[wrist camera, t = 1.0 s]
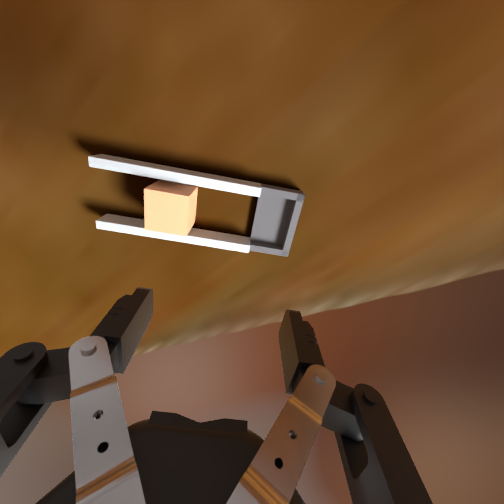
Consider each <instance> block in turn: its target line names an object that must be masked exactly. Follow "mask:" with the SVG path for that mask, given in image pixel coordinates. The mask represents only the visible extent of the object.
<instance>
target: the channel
mask: <svg viewBox="0 0 504 504" xmlns="http://www.w3.org/2000/svg"><path fill="white" fill-rule="evenodd" d="M88 160H89V166H90V167H95V168H101V169H106V170H112V171H117V172H123V173H128V174H134V175H139V176H145V177H150V178H156V179H161V180H167V181H172V182H178V183H183V184H189V185H195V186H200V187H206V188H211V189H217V190H222V191H228V192H233V193H239V194H244V195H250V196H255V197H260V194H261V189H262V188H261V183H256V182H251V181H245V180H240V179H234V178H229V177H224V176H218V175H213V174H208V173H202V172H197V171H191V170H186V169H181V168H175V167H170V166H165V165H159V164H154V163H148V162H143V161H138V160H132V159H127V158H122V157H116V156H111V155H105V154H98V155H92V156H88ZM96 228H97V229H103V230H109V231H116V232H122V233H128V234H134V235H140V236H147V237H153V238H159V239H165V240H171V241H177V242H184V243H190V244H196V245H202V246H208V247H215V248H221V249H227V250H233V251H239V252H246V253H249V249H250V237H245V236H239V235H233V234H227V233H221V232H215V231H209V230H203V229H197V228H191V230H190V231H189V233H188V235H187V236H180V235H174V234H168V233H162V232H156V231H150V230H145V220H143V219H137V218H131V217H125V216H119V215H113V214H105V215H104V216H102V217H101V218H99V219H97V220H96Z"/></svg>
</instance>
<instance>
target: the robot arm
mask: <svg viewBox="0 0 504 504" xmlns="http://www.w3.org/2000/svg"><path fill="white" fill-rule="evenodd" d="M152 314H153V289H149V288H143V287H138V288H137V289H136V290H135V292H134V293H133V295H125V296H123V297H122V298H120V299H118V300H117V301H116V303H115V304H114V305H113V307H112V309H110V310H109V312H108V314H106V316H105V317H104V318H103V320H102V321H101V322H100V323H99V325H98V326H97V327H96V329H95V330H94V331H93V333H92V334H91V335H90V336H89V337H85V338H82V339H80V340H78V341H77V342H75V343H74V344H73V345H72V346H71V347H69V348H62V349H54V350H46V347H45V346H44V345H43V344H42V343H38V342H29V343H24V344H21V345H18V346H16V347H14V348H12V349H10V350H9V351H8V352H6V353H5V354H4V355H3V356H2V357H1V358H0V477H1V475H2V474H3V472H4V471H5V469H6V468H7V467H8V465H9V464H10V462H11V461H12V459H13V458H14V457H15V455H16V454H17V452H18V451H19V450H20V448H21V447H22V445H23V444H24V442H25V441H26V440H27V438H28V437H29V435H30V434H31V432H32V431H33V430H34V428H35V427H36V425H37V424H38V422H39V421H40V419H41V418H42V417H43V415H44V414H45V412H46V411H47V409H48V408H49V406H50V405H51V403H52V402H54V401H60V400H65V399H70V406H71V420H72V436H73V451H74V466H75V471H73V472H72V473H71V474H70V475H69V476H68V477H66V478H65V479H64V480H63V481H62V482H61V483H59V484H58V485H57V486H56V487H55V488H54V489H52V490H51V491H50V492H49V493H48V494H46V495H45V496H44V497H43V498H42V499H40V500H39V501H38V502H37V503H36V504H305V502H304V501H303V499H302V497H301V496H300V494H299V493H298V491H297V490H296V486H297V483H298V481H299V478H300V476H301V473H302V471H303V468H304V466H305V463H306V461H307V458H308V456H309V454H310V451H311V448H312V446H313V444H314V441H315V439H316V436H317V434H318V431H319V429H320V426H323V427H325V428H327V429H329V430H332V431H334V433H335V437H336V440H337V444H338V448H339V452H340V456H341V460H342V464H343V468H344V471H345V475H346V479H347V483H348V487H349V491H350V495H351V499H352V502H353V504H433V503H432V501H431V499H430V497H429V495H428V493H427V491H426V488H425V486H424V484H423V482H422V480H421V478H420V476H419V474H418V472H417V470H416V467H415V465H414V463H413V461H412V459H411V456H410V454H409V452H408V450H407V448H406V446H405V444H404V442H403V439H402V437H401V435H400V433H399V431H398V429H397V427H396V425H395V423H394V420H393V418H392V416H391V414H390V412H389V410H388V408H387V405H386V403H385V401H384V399H383V397H382V396H381V395H380V394H379V392H378V391H376V390H375V389H374V388H373V387H371V386H369V385H366V384H358V385H356V386H355V388H351V387H349V386H347V385H344V384H342V383H340V382H338V381H336V380H335V377H334V375H333V374H332V373H331V372H330V371H329V370H328V369H327V368H325V365H324V362H323V359H322V356H321V353H320V350H319V346H318V344H317V340H316V338H315V333H314V330H313V328H312V327H311V325H310V324H309V323H308V322H307V321H303V320H302V317H301V313H300V311H294V310H286V312H285V315H284V318H283V321H282V324H281V327H280V331H279V343H280V351H281V358H282V366H283V374H284V381H285V388H286V393H288V394H293V395H292V396H291V397H290V398H289V399H288V401H287V403H286V404H285V406H284V408H283V410H282V411H281V413H280V415H279V416H278V418H277V420H276V421H275V423H274V425H273V427H272V428H271V430H270V432H269V434H268V435H267V437H266V438H265V440H263V439H262V438H261V437H260V436H259V435H257V434H256V433H254V432H253V431H251V430H248V429H247V421H244V420H234V419H219V420H213V421H208V422H202V423H199V422H196V421H194V420H191V419H189V418H186V417H184V416H181V415H179V414H176V413H168V412H158V411H152V413H151V416H150V419H147V420H143V421H140V422H137V423H135V424H133V425H131V426H129V427H127V424H126V419H125V415H124V411H123V406H122V402H121V397H120V393H119V389H118V385H117V380H116V377H115V376H114V375H115V373H124V371H125V369H126V367H127V366H128V364H129V362H130V360H131V358H132V356H133V354H134V352H135V350H136V348H137V346H138V344H139V342H140V340H141V338H142V336H143V335H144V333H145V331H146V329H147V327H148V325H149V323H150V321H151V318H152Z"/></svg>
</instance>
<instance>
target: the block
mask: <svg viewBox="0 0 504 504" xmlns="http://www.w3.org/2000/svg"><path fill="white" fill-rule="evenodd" d="M197 190H198V187H196V186H191V185H185V184H180V183H174V182H169V181H163V180H158V181H156V182H154V183H153V184H151V185H149V186H147V187H146V188H144V218H145V230H150V231H156V232H162V233H168V234H174V235H180V236H187V235H188V233H189V231H190V230H191V228H192V226H193V225H194V223H195V215H196V203H197Z"/></svg>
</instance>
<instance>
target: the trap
mask: <svg viewBox="0 0 504 504" xmlns="http://www.w3.org/2000/svg"><path fill="white" fill-rule="evenodd" d="M261 188H262V189H261V194H260V197H258V201H257V206H256V211H255V216H254V221H253V226H252V231H251V236H250V249H249V251H255V252H262V253H268V254H274V255H280V256H286V257H288V254H289V250H290V247H291V243H292V240H293V236H294V233H295V229H296V226H297V222H298V218H299V215H300V211H301V208H302V204H303V201H304V197H305V194H304V193H303V191H299V190H294V189H288V188H283V187H277V186H272V185H267V184H261Z"/></svg>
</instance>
